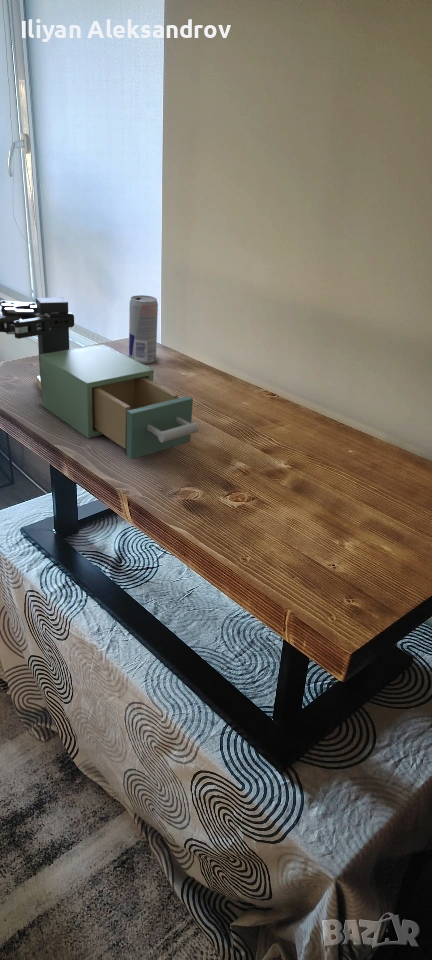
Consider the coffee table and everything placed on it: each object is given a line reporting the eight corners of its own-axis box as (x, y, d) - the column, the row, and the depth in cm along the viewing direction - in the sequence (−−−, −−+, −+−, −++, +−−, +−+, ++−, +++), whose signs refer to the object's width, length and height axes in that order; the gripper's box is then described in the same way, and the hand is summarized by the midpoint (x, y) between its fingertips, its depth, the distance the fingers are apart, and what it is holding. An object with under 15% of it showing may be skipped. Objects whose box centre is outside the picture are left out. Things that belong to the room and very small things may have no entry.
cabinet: (152, 421, 99) (153, 369, 95) (88, 438, 92) (87, 383, 88) (103, 392, 108) (103, 343, 104) (42, 405, 101) (39, 354, 97)
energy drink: (139, 353, 127) (140, 293, 121) (161, 359, 125) (163, 298, 119) (123, 359, 123) (123, 298, 117) (145, 366, 121) (146, 303, 115)
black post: (36, 383, 109) (31, 296, 101) (66, 381, 111) (63, 295, 104) (43, 394, 105) (39, 304, 97) (74, 391, 107) (72, 303, 100)
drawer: (208, 452, 89) (212, 408, 86) (149, 472, 83) (150, 425, 79) (138, 410, 100) (139, 370, 97) (81, 425, 94) (80, 382, 90)
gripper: (-38, 307, 89) (81, 304, 96) (-50, 285, 99) (58, 283, 107) (-33, 358, 92) (82, 351, 100) (-44, 331, 103) (60, 326, 110)
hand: (69, 316), depth 103 cm, fingers closed on black post, 3 cm apart
